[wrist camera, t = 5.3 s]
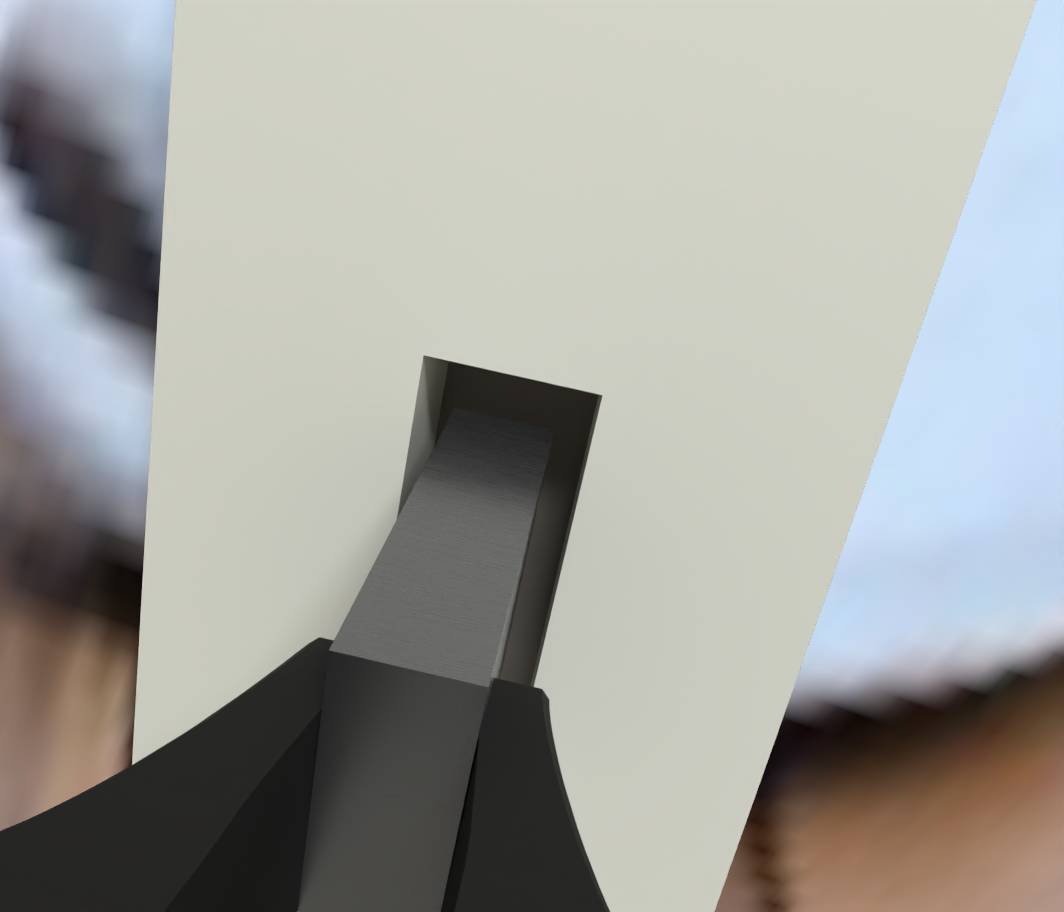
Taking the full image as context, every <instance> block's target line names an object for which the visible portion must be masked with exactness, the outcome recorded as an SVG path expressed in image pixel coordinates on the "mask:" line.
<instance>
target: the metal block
mask: <svg viewBox="0 0 1064 912" xmlns="http://www.w3.org/2000/svg"><path fill="white" fill-rule="evenodd" d="M553 434H554V429H549V428H545V427H540V426H536V425H531V424H527V423H522V422H518V421H513V420H509V419H505V418H500V417H496V416H491V415H487V414H482V413H478V412H473V411H469V410H464V409H460V408H454V410H453V412H452V414H451V416H450V418H449V420H448V422H447V424H446V426H445V428H444V429H443V431H442V433H441V435H440V437H439V439H438V441H437V443H436V445H435V447H434V449H433V451H432V453H431V455H430V456H429V458H428V460H427V462H426V464H425V466H424V468H423V470H422V472H421V474H420V476H419V478H418V480H417V482H416V483H415V485H414V487H413V489H412V491H411V493H410V495H409V497H408V499H407V501H406V503H405V505H404V507H403V508H402V510H401V512H400V514H399V516H398V518H397V520H396V522H395V524H394V526H393V528H392V530H391V532H390V534H389V535H388V537H387V539H386V541H385V543H384V545H383V547H382V549H381V551H380V553H379V555H378V557H377V559H376V560H375V562H374V564H373V566H372V568H371V570H370V572H369V574H368V576H367V578H366V580H365V582H364V584H363V586H362V587H361V589H360V591H359V593H358V595H357V597H356V599H355V601H354V603H353V605H352V607H351V609H350V611H349V612H348V614H347V616H346V618H345V620H344V622H343V624H342V626H341V628H340V630H339V632H338V634H337V636H336V638H335V639H334V641H333V643H332V645H331V647H330V649H329V653H328V662H327V670H326V679H325V687H324V695H323V704H322V712H321V720H320V729H319V737H318V745H317V754H316V762H315V770H314V779H313V787H312V795H311V804H310V812H309V821H308V829H307V837H306V846H305V854H304V862H303V871H302V879H301V887H300V896H299V904H298V912H441V909H442V904H443V900H444V895H445V890H446V886H447V881H448V876H449V872H450V867H451V862H452V858H453V853H454V849H455V844H456V839H457V835H458V830H459V825H460V821H461V816H462V812H463V807H464V802H465V798H466V793H467V788H468V784H469V779H470V775H471V770H472V765H473V761H474V756H475V751H476V747H477V742H478V738H479V733H480V729H481V726H482V722H483V718H484V714H485V711H486V707H487V703H488V700H489V696H490V692H491V689H492V685H493V682H494V678H497V679H500V676H501V672H502V667H503V663H504V658H505V653H506V649H507V644H508V640H509V635H510V631H511V626H512V621H513V617H514V612H515V608H516V603H517V599H518V594H519V589H520V585H521V580H522V576H523V571H524V567H525V562H526V557H527V553H528V548H529V544H530V539H531V535H532V530H533V525H534V521H535V516H536V512H537V507H538V502H539V498H540V493H541V489H542V484H543V480H544V475H545V470H546V466H547V461H548V457H549V452H550V448H551V443H552V438H553Z"/></svg>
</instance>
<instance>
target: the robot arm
mask: <svg viewBox="0 0 1064 912" xmlns="http://www.w3.org/2000/svg"><path fill="white" fill-rule="evenodd" d="M333 641H334V640H330V639H326V638H321V637H319V638H317V639H315V640H314V641H312V642H310V643H308V644H307V645H306V646H305V647H303V648H302V649H301V650H299V651H298V652H297V653H295V654H294V655H293V656H291V657H290V658H289V659H288V660H286V661H285V662H284V663H282V664H281V665H280V666H278V667H277V668H276V669H274V670H273V671H272V672H270V673H269V674H268V675H266V676H265V677H264V678H262V679H261V680H260V681H258V682H257V683H256V684H254V685H253V686H252V687H250V688H249V689H247V690H246V691H245V692H243V693H242V694H241V695H239V696H238V697H236V698H235V699H233V700H232V701H230V702H229V703H228V704H226V705H225V706H223V707H222V708H220V709H219V710H217V711H216V712H215V713H213V714H212V715H210V716H209V717H207V718H206V719H204V720H203V721H201V722H200V723H199V724H197V725H196V726H194V727H193V728H191V729H190V730H188V731H186V732H185V733H183V734H182V735H180V736H179V737H177V738H175V739H174V740H172V741H170V742H169V743H167V744H165V745H164V746H162V747H161V748H159V749H157V750H156V751H154V752H152V753H151V754H149V755H148V756H146V757H144V758H143V759H141V760H139V761H138V762H136V763H135V764H133V765H131V766H130V767H128V768H126V769H125V770H123V771H121V772H119V773H117V774H116V775H114V776H112V777H110V778H109V779H107V780H105V781H103V782H101V783H100V784H98V785H96V786H94V787H92V788H90V789H88V790H87V791H85V792H83V793H81V794H79V795H77V796H75V797H73V798H71V799H69V800H67V801H65V802H63V803H61V804H59V805H57V806H55V807H53V808H51V809H49V810H47V811H45V812H43V813H41V814H39V815H36V816H34V817H32V818H30V819H28V820H26V821H23V822H21V823H19V824H16V825H14V826H11V827H9V828H7V829H4V830H2V831H0V912H297V911H298V904H299V896H300V887H301V879H302V871H303V862H304V854H305V846H306V837H307V829H308V821H309V812H310V804H311V795H312V787H313V779H314V770H315V762H316V754H317V745H318V737H319V729H320V720H321V712H322V704H323V695H324V687H325V679H326V670H327V662H328V653H329V649H330V647H331V645H332V643H333ZM441 912H610V910H609V908H608V906H607V903H606V901H605V899H604V896H603V894H602V892H601V889H600V887H599V884H598V882H597V879H596V877H595V874H594V871H593V869H592V866H591V864H590V861H589V858H588V856H587V853H586V851H585V848H584V845H583V842H582V839H581V836H580V833H579V831H578V828H577V824H576V821H575V818H574V815H573V811H572V808H571V805H570V802H569V798H568V795H567V792H566V789H565V785H564V781H563V778H562V774H561V770H560V766H559V761H558V757H557V752H556V748H555V743H554V738H553V732H552V726H551V718H550V708H549V698H548V697H547V695H546V694H545V692H544V691H543V689H540V688H536V687H532V686H527V685H523V684H519V683H515V682H510V681H506V680H502V679H497V678H494V682H493V685H492V689H491V692H490V696H489V700H488V703H487V707H486V711H485V714H484V718H483V722H482V726H481V729H480V733H479V738H478V742H477V747H476V751H475V756H474V761H473V765H472V770H471V775H470V779H469V784H468V788H467V793H466V798H465V802H464V807H463V812H462V816H461V821H460V825H459V830H458V835H457V839H456V844H455V849H454V853H453V858H452V862H451V867H450V872H449V876H448V881H447V886H446V890H445V895H444V900H443V904H442V909H441Z"/></svg>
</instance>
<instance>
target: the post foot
mask: <svg viewBox="0 0 1064 912" xmlns="http://www.w3.org/2000/svg"><path fill="white" fill-rule="evenodd" d="M1036 1H1037V0H176V4H175V22H174V39H173V57H172V74H171V92H170V109H169V127H168V145H167V162H166V180H165V197H164V215H163V232H162V250H161V267H160V285H159V302H158V320H157V337H156V355H155V372H154V390H153V407H152V425H151V442H150V460H149V478H148V495H147V513H146V530H145V548H144V565H143V583H142V600H141V618H140V635H139V653H138V670H137V688H136V705H135V723H134V740H133V758H132V765H133V764H135V763H136V762H138V761H139V760H141V759H143V758H144V757H146V756H148V755H149V754H151V753H152V752H154V751H156V750H157V749H159V748H161V747H162V746H164V745H165V744H167V743H169V742H170V741H172V740H174V739H175V738H177V737H179V736H180V735H182V734H183V733H185V732H186V731H188V730H190V729H191V728H193V727H194V726H196V725H197V724H199V723H200V722H201V721H203V720H204V719H206V718H207V717H209V716H210V715H212V714H213V713H215V712H216V711H217V710H219V709H220V708H222V707H223V706H225V705H226V704H228V703H229V702H230V701H232V700H233V699H235V698H236V697H238V696H239V695H241V694H242V693H243V692H245V691H246V690H247V689H249V688H250V687H252V686H253V685H254V684H256V683H257V682H258V681H260V680H261V679H262V678H264V677H265V676H266V675H268V674H269V673H270V672H272V671H273V670H274V669H276V668H277V667H278V666H280V665H281V664H282V663H284V662H285V661H286V660H288V659H289V658H290V657H291V656H293V655H294V654H295V653H297V652H298V651H299V650H301V649H302V648H303V647H305V646H306V645H307V644H308V643H310V642H312V641H314V640H315V639H317V638H319V637H321V638H326V639H330V640H334V639H335V638H336V636H337V634H338V632H339V630H340V628H341V626H342V624H343V622H344V620H345V618H346V616H347V614H348V612H349V611H350V609H351V607H352V605H353V603H354V601H355V599H356V597H357V595H358V593H359V591H360V589H361V587H362V586H363V584H364V582H365V580H366V578H367V576H368V574H369V572H370V570H371V568H372V566H373V564H374V562H375V560H376V559H377V557H378V555H379V553H380V551H381V549H382V547H383V545H384V543H385V541H386V539H387V537H388V535H389V534H390V532H391V530H392V528H393V526H394V524H395V522H396V520H397V518H398V516H399V514H400V512H401V510H402V508H403V507H404V505H405V503H406V501H407V499H408V497H409V495H410V493H411V491H412V489H413V487H414V485H415V483H416V482H417V480H418V478H419V476H420V474H421V472H422V470H423V468H424V466H425V464H426V462H427V460H428V458H429V456H430V455H431V453H432V451H433V449H434V447H435V445H436V443H437V441H438V439H439V437H440V435H441V433H442V431H443V429H444V428H445V426H446V424H447V422H448V420H449V418H450V416H451V414H452V412H453V410H454V408H460V409H464V410H469V411H473V412H478V413H482V414H487V415H491V416H496V417H500V418H505V419H509V420H513V421H518V422H522V423H527V424H531V425H536V426H540V427H545V428H549V429H554V434H553V438H552V443H551V448H550V452H549V457H548V461H547V466H546V470H545V475H544V480H543V484H542V489H541V493H540V498H539V502H538V507H537V512H536V516H535V521H534V525H533V530H532V535H531V539H530V544H529V548H528V553H527V557H526V562H525V567H524V571H523V576H522V580H521V585H520V589H519V594H518V599H517V603H516V608H515V612H514V617H513V621H512V626H511V631H510V635H509V640H508V644H507V649H506V653H505V658H504V663H503V667H502V672H501V676H500V679H502V680H506V681H510V682H515V683H519V684H523V685H527V686H532V687H536V688H540V689H543V691H544V692H545V694H546V695H547V697H548V698H549V708H550V718H551V726H552V732H553V738H554V743H555V748H556V752H557V757H558V761H559V766H560V770H561V774H562V778H563V781H564V785H565V789H566V792H567V795H568V798H569V802H570V805H571V808H572V811H573V815H574V818H575V821H576V824H577V828H578V831H579V833H580V836H581V839H582V842H583V845H584V848H585V851H586V853H587V856H588V858H589V861H590V864H591V866H592V869H593V871H594V874H595V877H596V879H597V882H598V884H599V887H600V889H601V892H602V894H603V896H604V899H605V901H606V903H607V906H608V908H609V910H610V912H714V911H715V908H716V905H717V903H718V900H719V897H720V894H721V891H722V888H723V886H724V883H725V880H726V877H727V874H728V871H729V869H730V866H731V863H732V860H733V857H734V855H735V852H736V849H737V846H738V843H739V840H740V838H741V835H742V832H743V829H744V826H745V823H746V821H747V818H748V815H749V812H750V809H751V806H752V804H753V801H754V798H755V795H756V792H757V789H758V787H759V784H760V781H761V778H762V775H763V773H764V770H765V767H766V764H767V761H768V758H769V756H770V753H771V750H772V747H773V744H774V741H775V739H776V736H777V733H778V730H779V727H780V724H781V722H782V719H783V716H784V713H785V710H786V707H787V705H788V702H789V699H790V696H791V693H792V691H793V688H794V685H795V682H796V679H797V676H798V674H799V671H800V668H801V665H802V662H803V659H804V657H805V654H806V651H807V648H808V645H809V642H810V640H811V637H812V634H813V631H814V628H815V626H816V623H817V620H818V617H819V614H820V611H821V609H822V606H823V603H824V600H825V597H826V594H827V592H828V589H829V586H830V583H831V580H832V577H833V575H834V572H835V569H836V566H837V563H838V560H839V558H840V555H841V552H842V549H843V546H844V544H845V541H846V538H847V535H848V532H849V529H850V527H851V524H852V521H853V518H854V515H855V512H856V510H857V507H858V504H859V501H860V498H861V495H862V493H863V490H864V487H865V484H866V481H867V478H868V476H869V473H870V470H871V467H872V464H873V462H874V459H875V456H876V453H877V450H878V447H879V445H880V442H881V439H882V436H883V433H884V430H885V428H886V425H887V422H888V419H889V416H890V413H891V411H892V408H893V405H894V402H895V399H896V397H897V394H898V391H899V388H900V385H901V382H902V380H903V377H904V374H905V371H906V368H907V365H908V363H909V360H910V357H911V354H912V351H913V348H914V346H915V343H916V340H917V337H918V334H919V331H920V329H921V326H922V323H923V320H924V317H925V315H926V312H927V309H928V306H929V303H930V300H931V298H932V295H933V292H934V289H935V286H936V283H937V281H938V278H939V275H940V272H941V269H942V266H943V264H944V261H945V258H946V255H947V252H948V249H949V247H950V244H951V241H952V238H953V235H954V233H955V230H956V227H957V224H958V221H959V218H960V216H961V213H962V210H963V207H964V204H965V201H966V199H967V196H968V193H969V190H970V187H971V184H972V182H973V179H974V176H975V173H976V170H977V168H978V165H979V162H980V159H981V156H982V153H983V151H984V148H985V145H986V142H987V139H988V136H989V134H990V131H991V128H992V125H993V122H994V119H995V117H996V114H997V111H998V108H999V105H1000V102H1001V100H1002V97H1003V94H1004V91H1005V88H1006V86H1007V83H1008V80H1009V77H1010V74H1011V71H1012V69H1013V66H1014V63H1015V60H1016V57H1017V54H1018V52H1019V49H1020V46H1021V43H1022V40H1023V37H1024V35H1025V32H1026V29H1027V26H1028V23H1029V20H1030V18H1031V15H1032V12H1033V9H1034V6H1035V4H1036ZM297 912H298V911H297Z"/></svg>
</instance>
